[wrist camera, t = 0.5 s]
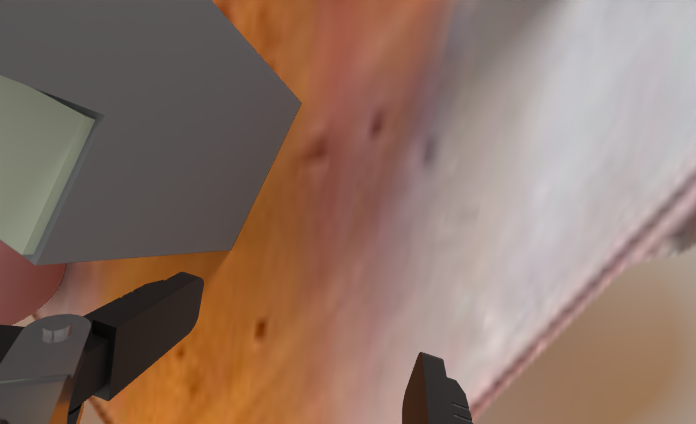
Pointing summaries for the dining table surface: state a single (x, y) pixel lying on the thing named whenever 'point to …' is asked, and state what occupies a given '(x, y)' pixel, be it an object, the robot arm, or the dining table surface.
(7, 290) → the mauve oval ball
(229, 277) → the dining table surface
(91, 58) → the stepped shelf
